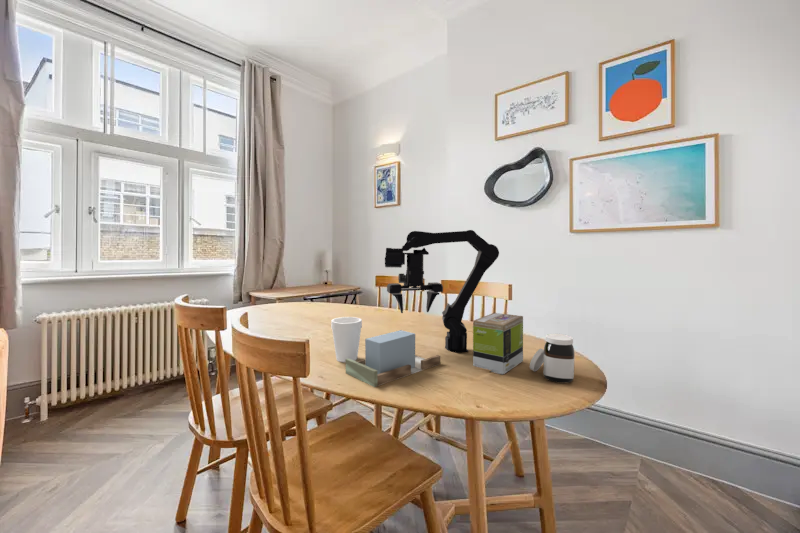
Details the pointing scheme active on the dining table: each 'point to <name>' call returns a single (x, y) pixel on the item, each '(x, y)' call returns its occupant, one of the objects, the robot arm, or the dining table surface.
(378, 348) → the slate box
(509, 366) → the tea box
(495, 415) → the dining table surface
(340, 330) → the foam cup
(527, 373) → the dining table surface
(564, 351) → the spread jar
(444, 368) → the dining table surface
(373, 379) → the lane
